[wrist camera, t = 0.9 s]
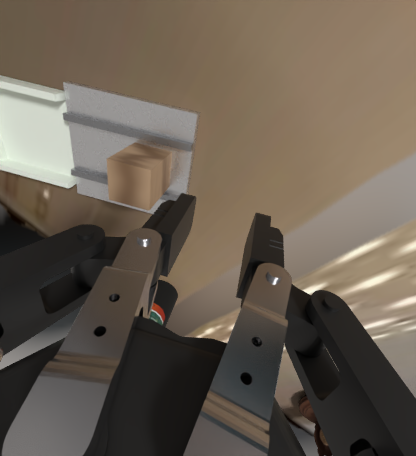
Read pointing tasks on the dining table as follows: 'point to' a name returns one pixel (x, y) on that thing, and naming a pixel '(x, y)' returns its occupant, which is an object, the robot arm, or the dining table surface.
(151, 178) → the block
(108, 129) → the slot plate
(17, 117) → the tray
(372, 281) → the dining table surface
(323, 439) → the scroll
